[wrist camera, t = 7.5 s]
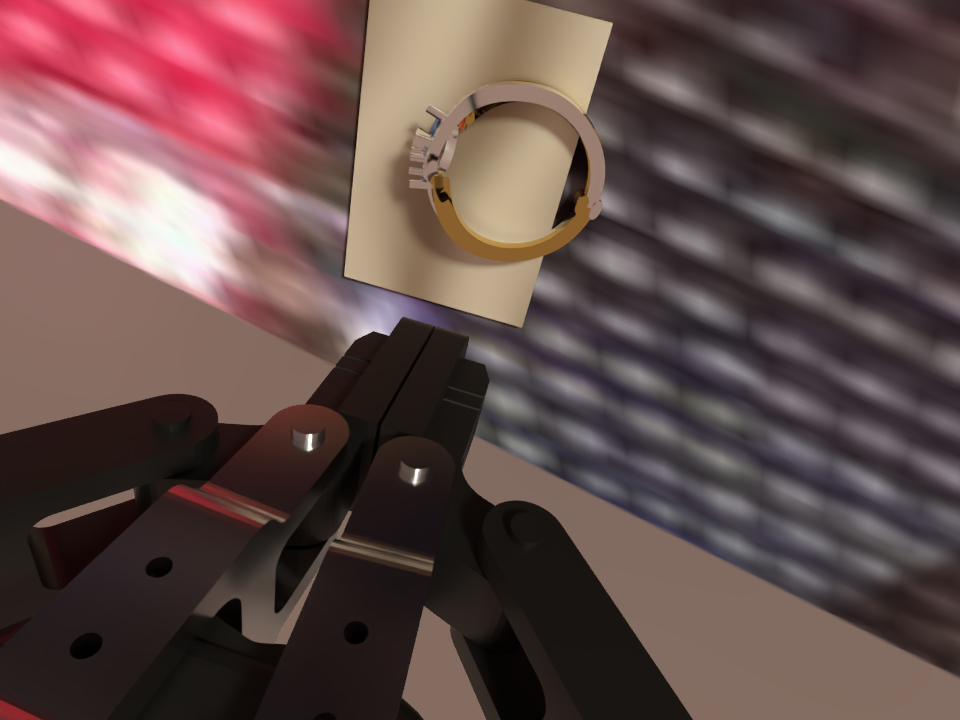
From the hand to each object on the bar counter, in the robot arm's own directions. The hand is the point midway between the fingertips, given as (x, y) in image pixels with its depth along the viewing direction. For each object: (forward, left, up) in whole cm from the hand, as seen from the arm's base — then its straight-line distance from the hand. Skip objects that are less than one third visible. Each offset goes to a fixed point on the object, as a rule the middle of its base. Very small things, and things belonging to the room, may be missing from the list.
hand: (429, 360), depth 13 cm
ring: (-4, 0, -14) cm, 14 cm away
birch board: (+3, 0, -14) cm, 15 cm away
